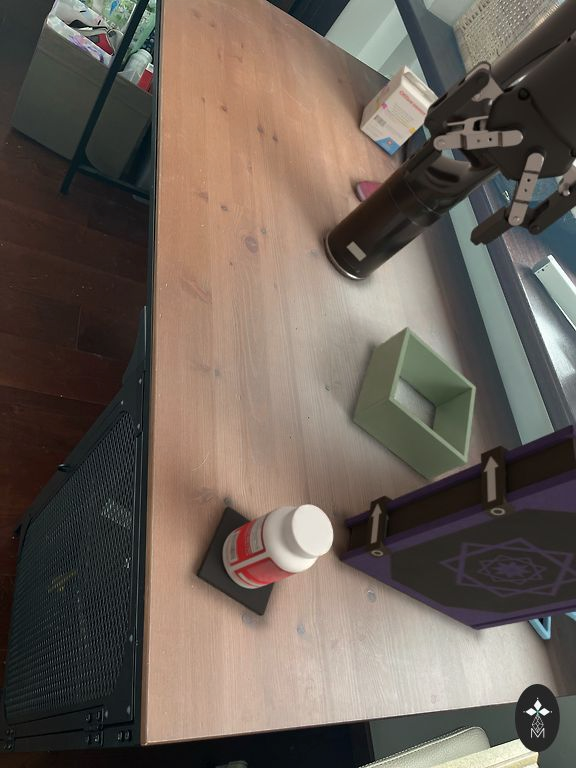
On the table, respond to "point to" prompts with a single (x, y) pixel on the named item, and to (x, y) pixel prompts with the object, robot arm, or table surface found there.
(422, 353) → the green open box
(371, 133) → the ink box
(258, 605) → the mat
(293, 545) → the pill bottle
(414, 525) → the book
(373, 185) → the eraser
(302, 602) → the table surface
